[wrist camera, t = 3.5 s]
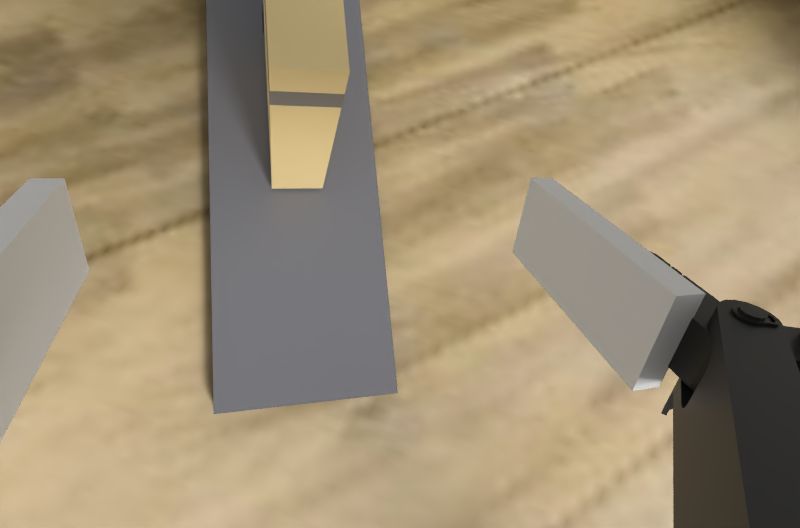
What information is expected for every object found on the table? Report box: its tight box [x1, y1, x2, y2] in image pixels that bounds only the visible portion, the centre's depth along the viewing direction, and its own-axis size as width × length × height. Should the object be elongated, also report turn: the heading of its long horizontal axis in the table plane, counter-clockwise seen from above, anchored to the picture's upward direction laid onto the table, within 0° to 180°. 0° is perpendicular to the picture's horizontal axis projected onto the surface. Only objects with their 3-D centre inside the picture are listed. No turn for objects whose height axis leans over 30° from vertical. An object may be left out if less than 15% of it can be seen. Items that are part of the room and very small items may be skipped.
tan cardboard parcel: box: [263, 0, 350, 189], centre depth 25 cm, size 10×3×12 cm, turn 6°
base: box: [206, 0, 398, 414], centre depth 32 cm, size 36×10×2 cm, turn 6°
